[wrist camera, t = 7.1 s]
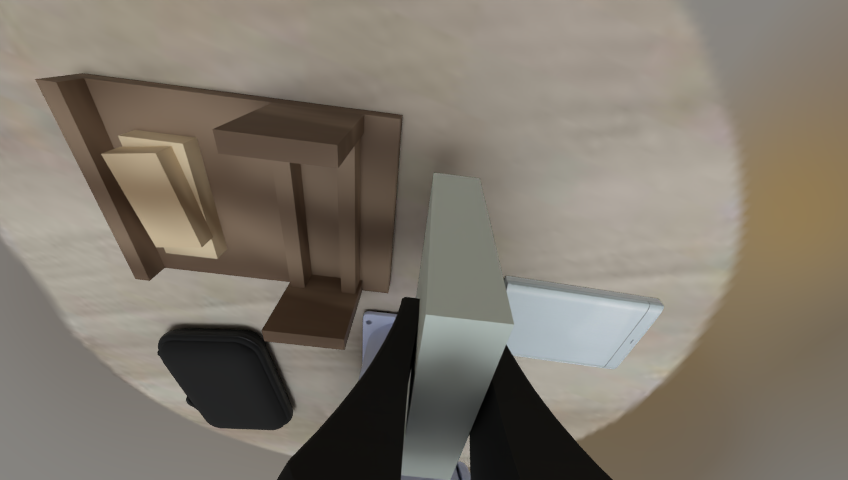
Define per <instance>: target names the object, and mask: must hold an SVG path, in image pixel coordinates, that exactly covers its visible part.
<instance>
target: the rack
mask: <svg viewBox="0 0 848 480" xmlns="http://www.w3.org/2000/svg"><path fill="white" fill-rule="evenodd" d="M35 80H36V82H37V84H38V86H39V88H40V90H41V92H42V94H43V96H44V98H45V100H46V102H47V104H48V106H49V107H50V109H51V111H52V113H53V115H54V117H55V119H56V121H57V123H58V125H59V127H60V129H61V131H62V133H63V135H64V137H65V139H66V141H67V143H68V145H69V147H70V149H71V151H72V153H73V155H74V157H75V159H76V161H77V163H78V165H79V167H80V169H81V171H82V173H83V175H84V177H85V179H86V181H87V183H88V185H89V187H90V189H91V191H92V193H93V195H94V197H95V199H96V201H97V203H98V205H99V207H100V209H101V211H102V213H103V215H104V217H105V219H106V221H107V223H108V225H109V227H110V229H111V231H112V233H113V235H114V237H115V239H116V241H117V243H118V245H119V247H120V249H121V251H122V253H123V255H124V257H125V259H126V261H127V263H128V265H129V267H130V269H131V271H132V273H133V275H134V277H135V279H140V280H149V281H150V280H151V279H152V278H153V277H154V276H156V275H157V274H158V273H159V272H160V271H161V270H163V269H164V268H173V269H181V270H190V271H199V272H208V273H216V274H225V275H234V276H242V277H251V278H260V279H269V280H277V281H286V282H290V283H289V285H288V287H287V288H286V290H285V292H284V294H283V295H282V297H281V299H280V300H279V302H278V304H277V305H276V307H275V309H274V310H273V312H272V314H271V316H270V317H269V319H268V321H267V322H266V324H265V326H264V327H263V329H262V334H263V338H264V341H268V342H277V343H286V344H295V345H304V346H313V347H322V348H332V349H341V350H345V347H346V343H347V340H348V337H349V333H350V330H351V326H352V323H353V320H354V316H355V313H356V310H357V306H358V303H359V300H360V296H361V293H362V290H365V291H373V292H382V293H388V291H389V286H390V275H391V262H392V248H393V235H394V221H395V208H396V194H397V181H398V167H399V154H400V140H401V127H402V115H398V114H390V113H382V112H375V111H367V110H359V109H352V108H344V107H336V106H329V105H321V104H313V103H306V102H298V101H290V100H283V99H275V98H267V97H260V96H252V95H244V94H237V93H229V92H221V91H213V90H206V89H198V88H190V87H183V86H175V85H167V84H160V83H152V82H144V81H137V80H129V79H121V78H114V77H106V76H98V75H91V74H83V73H82V74H74V75H66V76H58V77H50V78H42V79H35ZM133 130H141V131H148V132H156V133H164V134H172V135H180V136H188V137H196V138H197V141H198V145H199V148H200V152H201V156H202V159H203V163H204V166H205V170H206V174H207V177H208V181H209V185H210V188H211V192H212V195H213V199H214V203H215V206H216V210H217V214H218V217H219V221H220V224H221V228H222V232H223V235H224V239H225V242H226V246H227V250H226V251H225V252H224V253H223V254H222V255H221V256H220V257H219V258H218V259H213V258H204V257H196V256H187V255H179V254H170V253H166V252H165V249H164V247H156V246H155V245H154V243H153V241H152V240H151V238H150V236H149V235H148V233H147V231H146V229H145V228H144V226H143V224H142V223H141V221H140V219H139V218H138V216H137V214H136V212H135V211H134V209H133V207H132V206H131V204H130V202H129V201H128V199H127V197H126V196H125V194H124V192H123V190H122V189H121V187H120V185H119V184H118V182H117V180H116V179H115V177H114V175H113V173H112V172H111V170H110V168H109V167H108V165H107V163H106V162H105V160H104V158H103V156H102V155H101V154H102V153H104V152H107V151H110V150H113V149H115V148H118V147H122V144H121V142H120V139H119V137H118V135H121V134H124V133H127V132H130V131H133Z"/></svg>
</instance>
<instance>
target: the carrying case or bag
mask: <svg viewBox="0 0 848 480" xmlns="http://www.w3.org/2000/svg"><path fill="white" fill-rule="evenodd" d="M158 349H159V350H158V355H159V356H160V357H161V359H162V361H163V363H164V364H165V366H166V367H167V368H168V370H169V371H170V373H171V374H172V375H173V377H174V378H175V380H176V381H177V382H178V384H179V385H180V387H181V388H182V389H183V391H184V392H185V394H186V395H187V398H186V401H187V403H188V404H189V405H190V406H192V407H194V408H196V409H197V410H198V411H199V412H200V413H201V415H202V416H203V417H204V419H205V420H206V421H207V422H208V423H209V424H210V425H212V426H214V427H218V428H231V429H258V430H276V429H279V428H281V427H283V425H285V424H287V423H288V422H289V421H290V420H291V418H292V416H293V410H292V407H291V404H290V402H289V399H288V396H287V394H286V392H285V389H284V387H283V385H282V382H281V380H280V377H279V375H278V373H277V371H276V368H275V366H274V364H273V362H272V360H271V357H270V355H269V353H268V351H267V348H266V346H265V344H264V342H263V340H262V339H261V338H260V336H259V335H258V334H256V333H255V332H252V331H248V330H227V329H180V330H173V331H170V332H168V333H166V334H164V335H163V336H162V337H161V338H160V340H159V343H158Z"/></svg>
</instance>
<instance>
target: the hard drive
mask: <svg viewBox="0 0 848 480" xmlns="http://www.w3.org/2000/svg"><path fill="white" fill-rule="evenodd" d="M504 283H505V287H506V292H507V296H508V300H509V304H510V309H511V313H512V317H513V321H514V327H513V329H512V331H511V334H510V336H509V339H508V341H507V346H508V348H509V350H510V351H511V353H512V355H513V356H521V357H527V358H534V359H541V360H548V361H556V362H563V363H570V364H577V365H585V366H592V367H599V368H608V369H615V368H617V367H618V366H619V364H620V363H621V362H622V361H623V360H624V358H625V357H626V356H627V355H628V354H629V352H630V351H631V350H632V349H633V347H634V346H635V345H636V344H637V343H638V341H639V340H640V339H641V338H642V336H643V335H644V334H645V333H646V332H647V330H648V329H649V328H650V326H651V325H652V324H653V323H654V321H655V320H656V319H657V318H658V316H659V315H660V314H661V312H662V310H663V308H664V305H663V304H662V303H661V301H660V300H659V299H657V298H650V297H644V296H638V295H631V294H625V293H618V292H612V291H605V290H599V289H592V288H586V287H579V286H572V285H566V284H559V283H553V282H546V281H539V280H533V279H526V278H519V277H513V276H505V279H504Z"/></svg>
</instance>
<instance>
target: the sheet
mask: <svg viewBox="0 0 848 480" xmlns="http://www.w3.org/2000/svg"><path fill="white" fill-rule="evenodd" d="M416 298H418V299H420V305H419V321H418V328H417V334H416V341H415V347H414V354H413V360H412V367H411V372H410V378H409V383H408V392H407V404H406V417H405V430H404V443H403V457H402V471H401V475H403V476H413V477H423V478H433V479H443V480H451V477H452V475H453V472H454V470H455V467H456V465H457V463H458V460H459V458H460V455H461V453H462V450H463V448H464V446H465V443H466V441H467V438H468V436H469V433H470V431H471V429H472V426H473V424H474V421H475V419H476V416H477V414H478V412H479V409H480V407H481V404H482V402H483V399H484V397H485V395H486V392H487V390H488V387H489V385H490V382H491V380H492V378H493V375H494V373H495V370H496V368H497V365H498V363H499V361H500V358H501V356H502V353H503V351H504V348H505V346H506V344H507V341H508V339H509V336H510V334H511V331H512V329H513V327H514V321H513V317H512V313H511V309H510V304H509V300H508V296H507V292H506V287H505V283H504V279H503V275H502V270H501V266H500V262H499V258H498V253H497V249H496V245H495V241H494V237H493V232H492V228H491V224H490V220H489V215H488V211H487V207H486V203H485V198H484V194H483V190H482V186H481V181H480V178H473V177H465V176H457V175H449V174H441V173H433V180H432V187H431V195H430V202H429V209H428V216H427V223H426V231H425V238H424V245H423V252H422V259H421V266H420V274H419V281H418V288H417V295H416Z"/></svg>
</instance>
